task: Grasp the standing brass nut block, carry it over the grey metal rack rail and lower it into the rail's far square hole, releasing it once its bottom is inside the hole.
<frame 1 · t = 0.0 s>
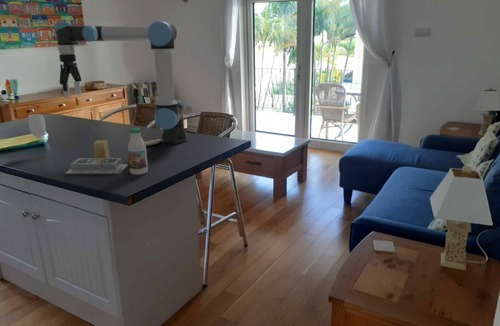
hand: (73, 95, 212), 28 cm above the table, fingers open, 13 cm apart
cup: (42, 155, 205), on the table
rack rail: (97, 169, 183), on the table
nut block: (102, 161, 195), on the table
milk bottle: (139, 172, 179), on the table
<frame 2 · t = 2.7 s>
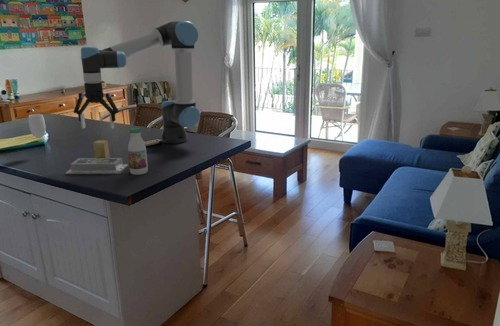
hand: (98, 128, 189), 17 cm above the table, fingers open, 13 cm apart
nothing on the table moved.
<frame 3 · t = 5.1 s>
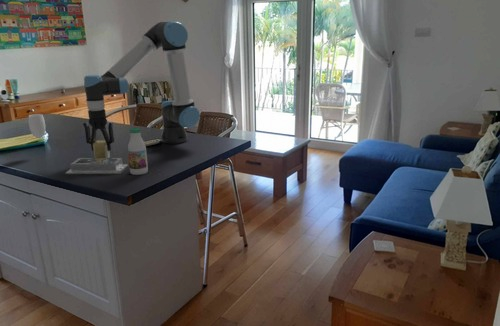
hand: (102, 157, 194), 2 cm above the table, fingers closed on nut block, 5 cm apart
nut block: (102, 161, 194), on the table, touching gripper
everything else where it was.
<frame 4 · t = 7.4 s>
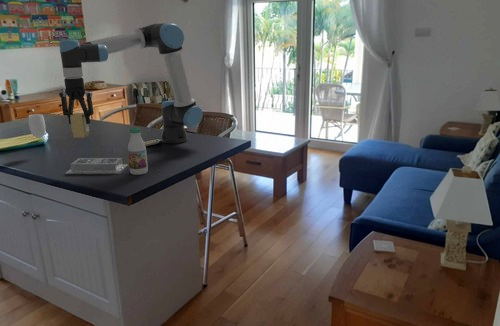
hand: (80, 131, 178), 18 cm above the table, fingers closed on nut block, 5 cm apart
nut block: (81, 136, 178), point 16 cm above the table, touching gripper
everything else where it was.
when the fingers open (5 cm above the table, at t = 10.0 s): nut block drops 2 cm, resting on rack rail.
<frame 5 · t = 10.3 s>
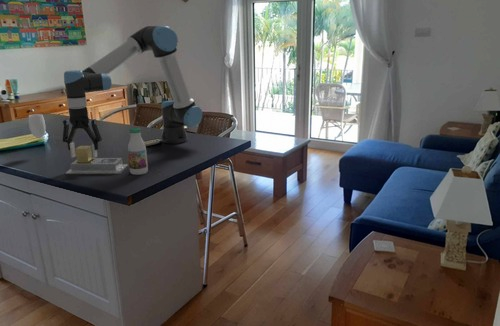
hand: (84, 156, 181), 6 cm above the table, fingers open, 9 cm apart
nut block: (86, 168, 183), point 1 cm above the table, touching rack rail
everything else where it was.
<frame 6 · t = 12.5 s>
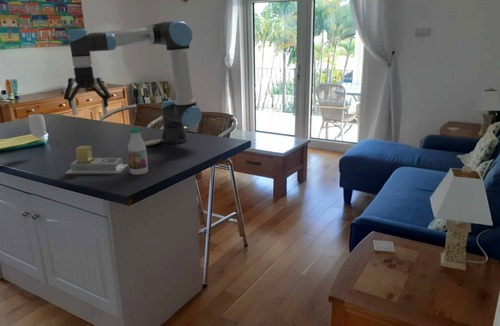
hand: (90, 114, 181), 24 cm above the table, fingers open, 13 cm apart
nothing on the table moved.
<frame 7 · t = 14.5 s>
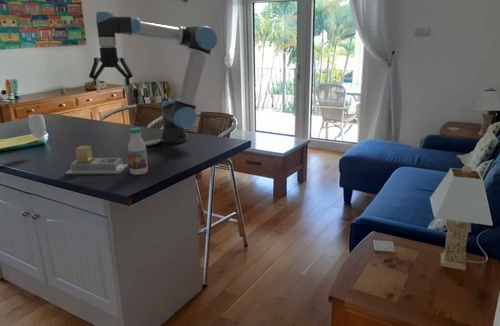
hand: (113, 92, 194), 32 cm above the table, fingers open, 13 cm apart
nothing on the table moved.
at the end: nut block 0.0 cm from the target spot on the rack rail, point 0.6 cm above the rack rail's base; nut block tilted 0°; the gripper is holding nothing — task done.
